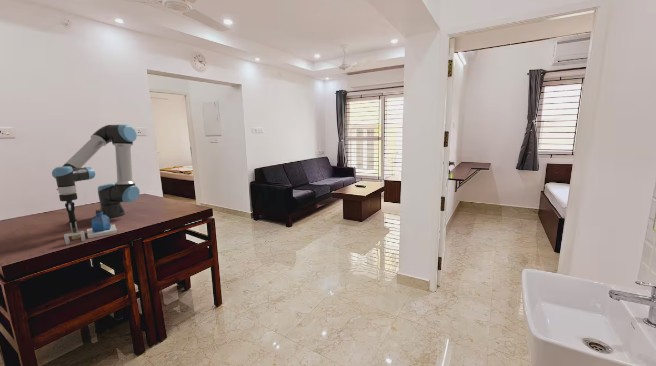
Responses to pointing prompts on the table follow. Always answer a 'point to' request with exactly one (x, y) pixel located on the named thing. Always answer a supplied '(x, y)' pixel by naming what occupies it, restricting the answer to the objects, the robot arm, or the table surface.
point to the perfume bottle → (100, 221)
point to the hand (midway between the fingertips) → (74, 232)
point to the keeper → (72, 235)
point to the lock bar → (75, 235)
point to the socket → (101, 232)
